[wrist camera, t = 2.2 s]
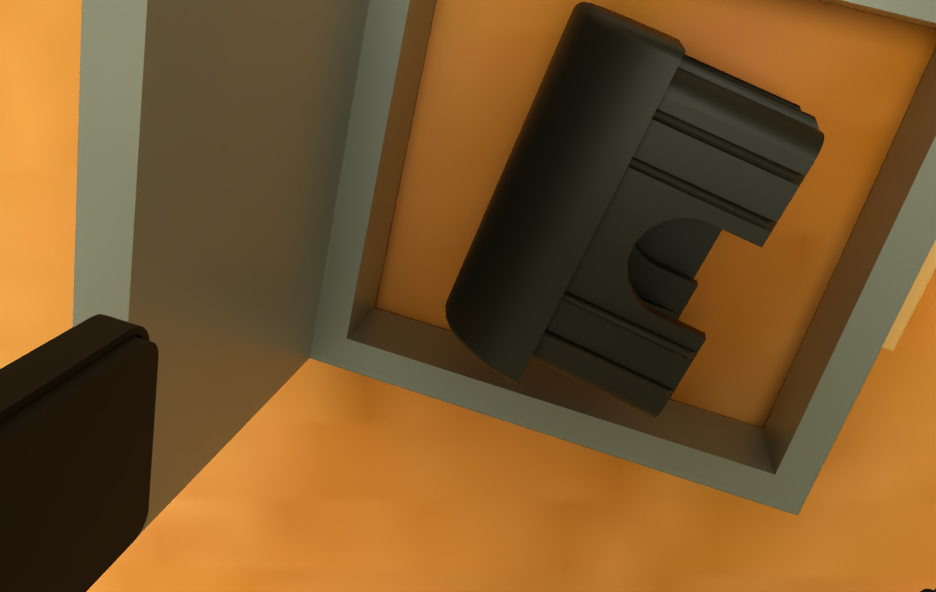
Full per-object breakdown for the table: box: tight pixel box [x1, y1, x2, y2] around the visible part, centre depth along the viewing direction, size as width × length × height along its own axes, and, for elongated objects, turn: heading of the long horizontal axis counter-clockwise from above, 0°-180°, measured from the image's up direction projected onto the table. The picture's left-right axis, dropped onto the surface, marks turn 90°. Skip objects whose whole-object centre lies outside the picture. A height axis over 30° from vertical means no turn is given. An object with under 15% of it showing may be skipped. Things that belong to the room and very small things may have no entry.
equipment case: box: [73, 0, 936, 533], centre depth 20 cm, size 19×16×14 cm
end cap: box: [445, 2, 824, 418], centre depth 23 cm, size 10×7×7 cm
